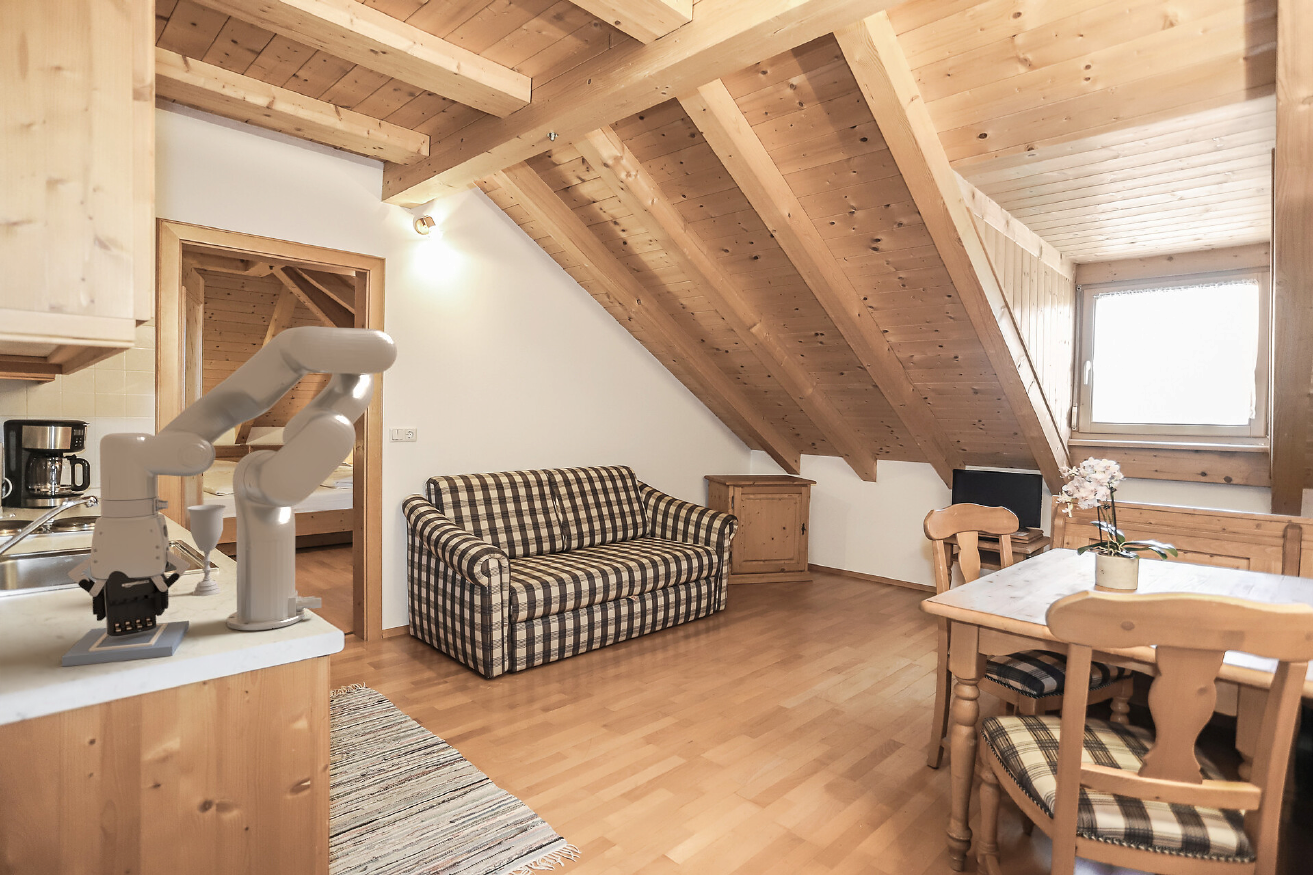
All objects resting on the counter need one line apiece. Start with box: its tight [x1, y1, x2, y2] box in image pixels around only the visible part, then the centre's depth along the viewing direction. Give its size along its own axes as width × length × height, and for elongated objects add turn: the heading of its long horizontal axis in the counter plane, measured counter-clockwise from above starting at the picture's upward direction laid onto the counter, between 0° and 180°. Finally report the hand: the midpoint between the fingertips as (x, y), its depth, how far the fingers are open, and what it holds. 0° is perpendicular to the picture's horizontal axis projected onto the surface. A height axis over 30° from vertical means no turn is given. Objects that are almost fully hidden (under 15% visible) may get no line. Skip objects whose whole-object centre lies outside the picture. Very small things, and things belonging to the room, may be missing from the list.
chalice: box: [187, 504, 226, 597], centre depth 150 cm, size 7×7×18 cm
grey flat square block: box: [61, 620, 190, 667], centre depth 117 cm, size 14×14×2 cm
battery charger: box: [104, 571, 158, 636], centre depth 117 cm, size 7×4×11 cm, turn 139°
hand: (131, 615), depth 117 cm, fingers closed on battery charger, 7 cm apart
